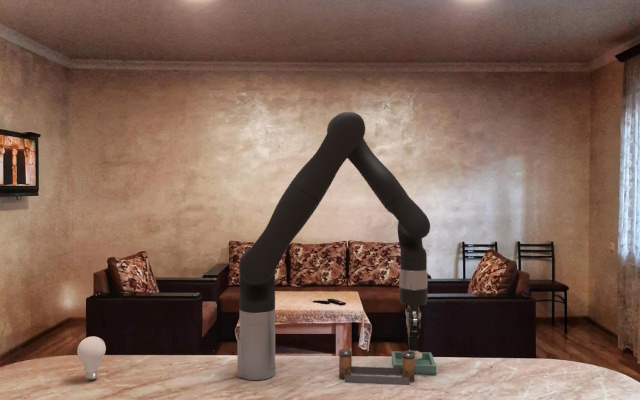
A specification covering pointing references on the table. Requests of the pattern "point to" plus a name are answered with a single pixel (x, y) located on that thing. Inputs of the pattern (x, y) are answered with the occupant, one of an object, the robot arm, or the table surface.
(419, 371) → the tray
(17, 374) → the table surface
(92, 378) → the light bulb
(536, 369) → the table surface
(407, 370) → the rail
